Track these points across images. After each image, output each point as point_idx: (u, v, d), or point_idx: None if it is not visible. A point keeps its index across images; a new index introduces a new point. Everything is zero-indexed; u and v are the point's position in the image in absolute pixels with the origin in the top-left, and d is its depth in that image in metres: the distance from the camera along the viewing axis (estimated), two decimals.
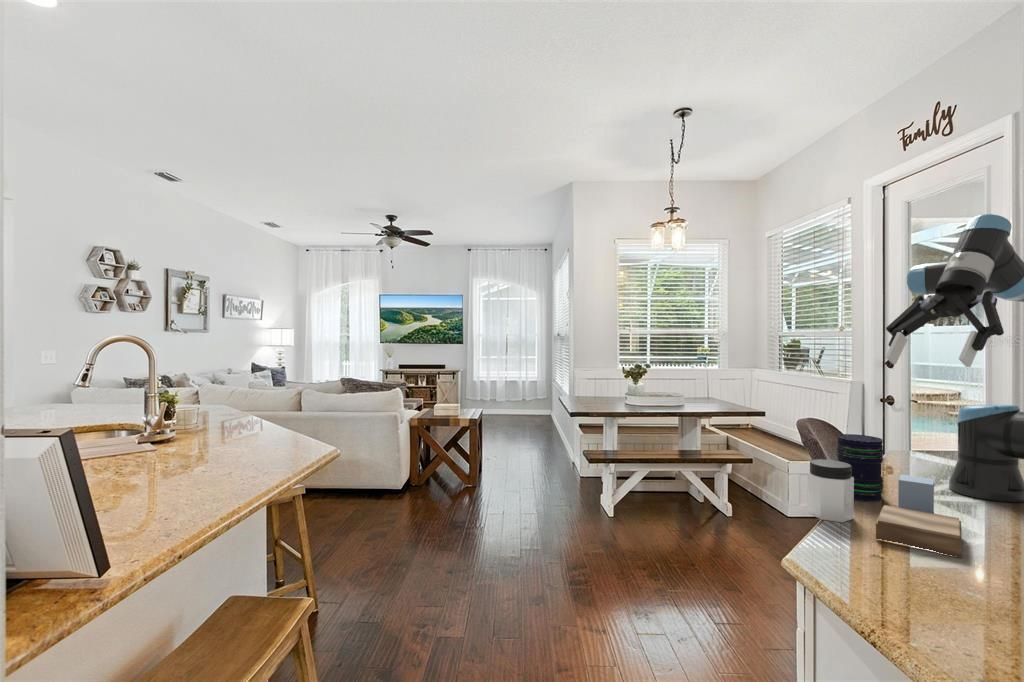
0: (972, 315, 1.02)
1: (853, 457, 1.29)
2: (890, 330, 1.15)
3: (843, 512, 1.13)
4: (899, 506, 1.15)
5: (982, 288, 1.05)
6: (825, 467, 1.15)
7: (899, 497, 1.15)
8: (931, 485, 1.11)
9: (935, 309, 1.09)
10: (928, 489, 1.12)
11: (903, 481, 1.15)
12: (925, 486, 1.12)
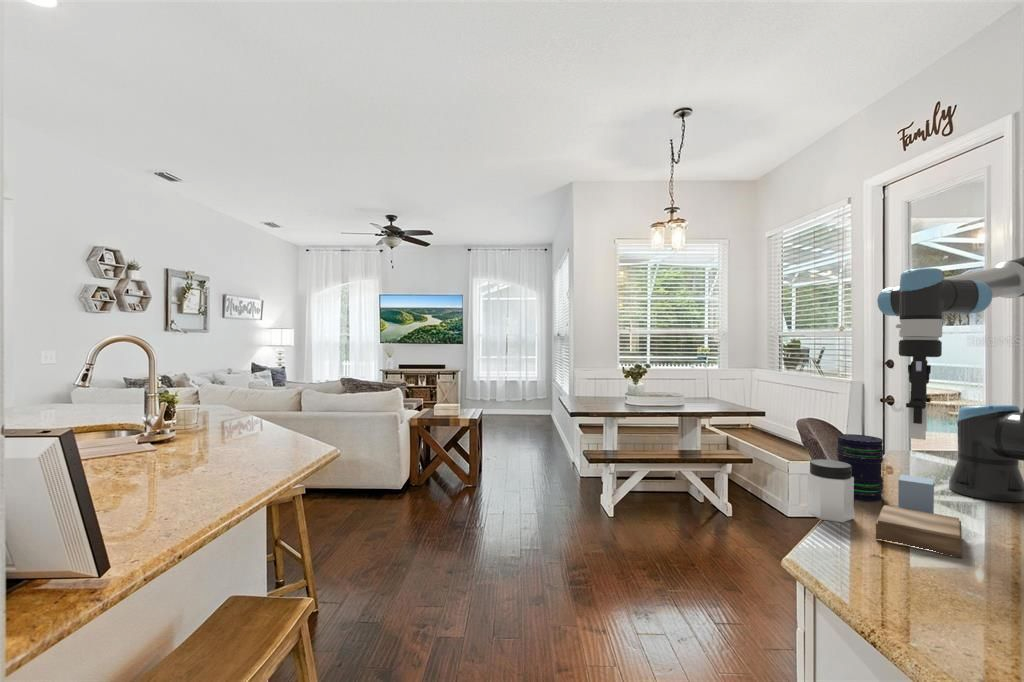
0: None
1: (853, 457, 1.29)
2: None
3: (843, 512, 1.13)
4: (899, 506, 1.15)
5: (923, 350, 1.12)
6: (825, 467, 1.15)
7: (899, 497, 1.15)
8: (931, 485, 1.11)
9: None
10: (928, 489, 1.12)
11: (903, 481, 1.15)
12: (925, 486, 1.12)
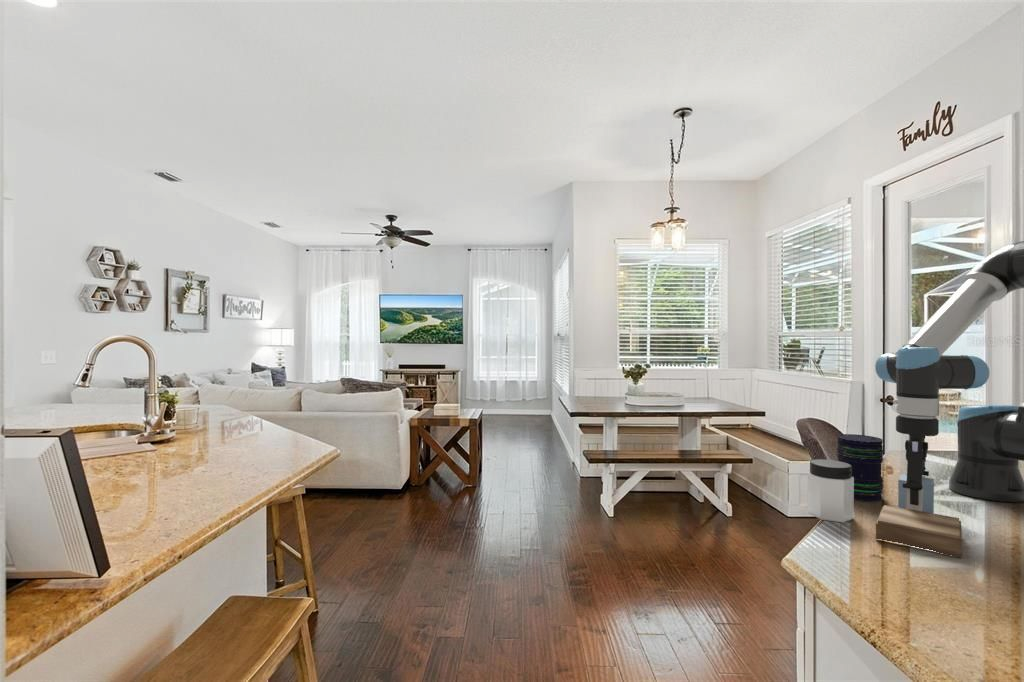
0: None
1: (853, 457, 1.29)
2: None
3: (843, 512, 1.13)
4: (899, 506, 1.15)
5: (920, 429, 1.12)
6: (825, 467, 1.15)
7: (899, 497, 1.15)
8: (931, 485, 1.11)
9: None
10: (928, 489, 1.12)
11: (903, 481, 1.15)
12: (925, 486, 1.12)
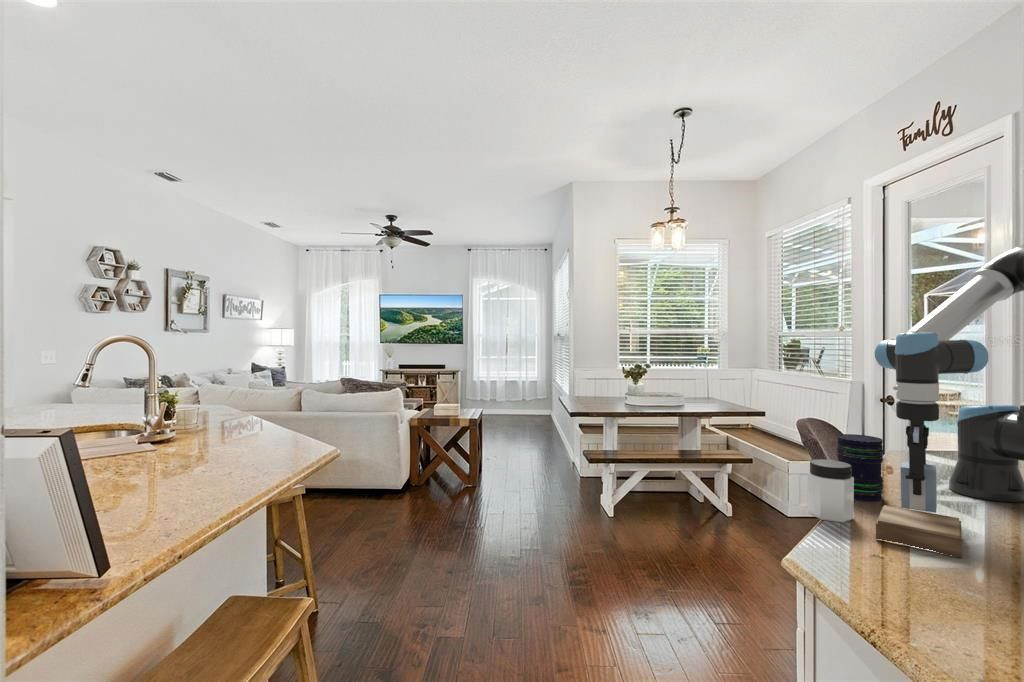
0: None
1: (853, 457, 1.29)
2: None
3: (843, 512, 1.13)
4: (902, 493, 1.15)
5: (921, 414, 1.12)
6: (825, 467, 1.15)
7: (901, 484, 1.15)
8: (933, 471, 1.11)
9: None
10: (930, 476, 1.12)
11: (905, 468, 1.15)
12: (927, 473, 1.12)
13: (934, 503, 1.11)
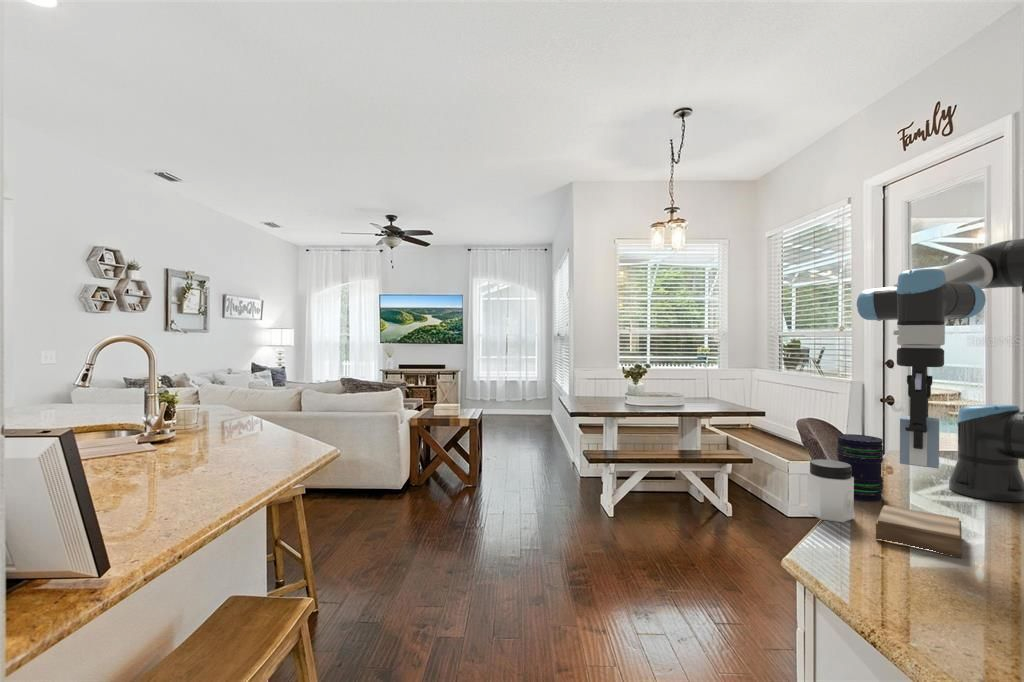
0: None
1: (853, 457, 1.29)
2: None
3: (843, 512, 1.13)
4: (901, 448, 1.04)
5: (924, 359, 1.01)
6: (825, 467, 1.15)
7: (900, 438, 1.04)
8: (936, 422, 1.00)
9: None
10: (933, 427, 1.00)
11: (905, 420, 1.03)
12: (929, 424, 1.01)
13: (936, 458, 1.00)
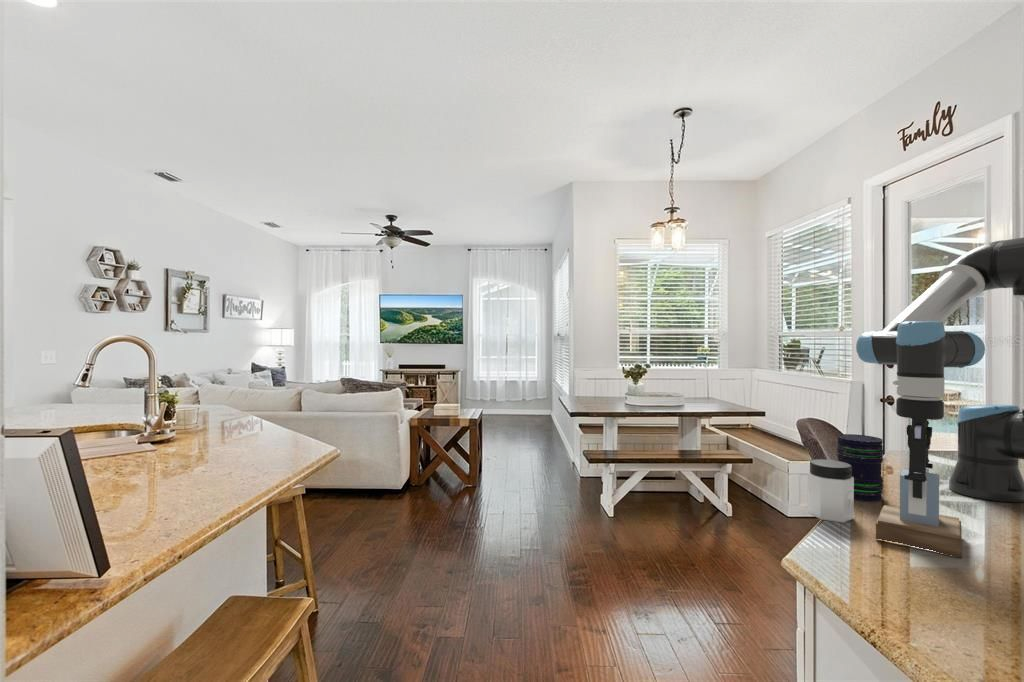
0: None
1: (853, 457, 1.29)
2: None
3: (843, 512, 1.13)
4: (901, 504, 1.04)
5: (923, 412, 1.01)
6: (825, 467, 1.15)
7: (901, 494, 1.04)
8: (936, 481, 1.00)
9: None
10: (933, 486, 1.00)
11: None
12: (930, 483, 1.01)
13: (936, 516, 1.00)
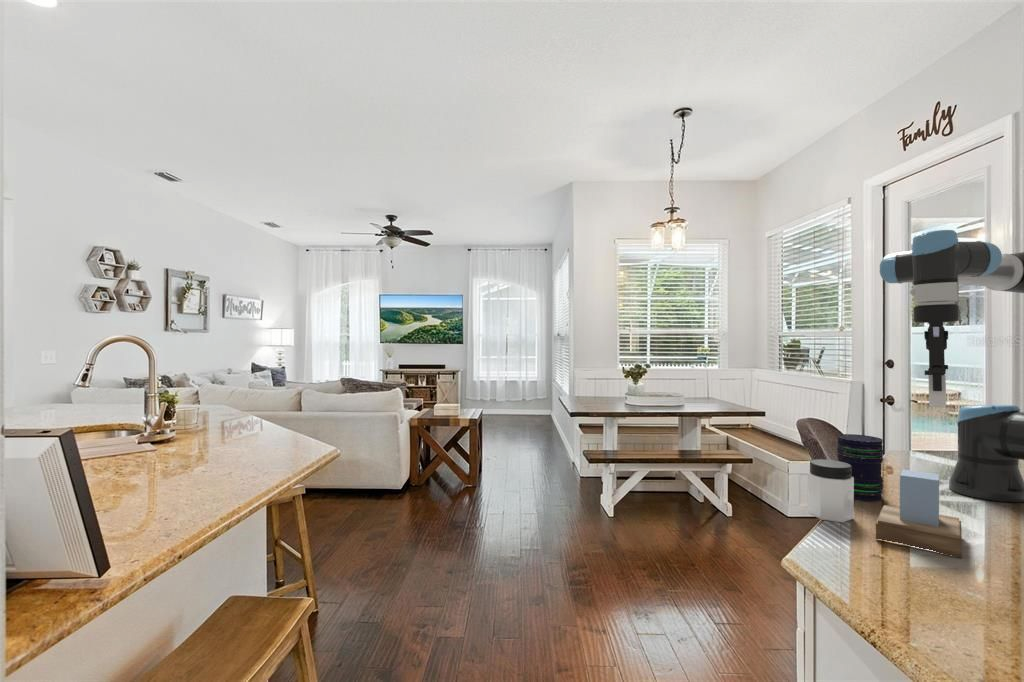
0: None
1: (853, 457, 1.29)
2: None
3: (843, 512, 1.13)
4: (901, 504, 1.04)
5: (940, 314, 1.08)
6: (825, 467, 1.15)
7: (901, 494, 1.04)
8: (936, 481, 1.00)
9: None
10: (933, 486, 1.00)
11: (905, 477, 1.03)
12: (930, 483, 1.01)
13: (936, 516, 1.00)
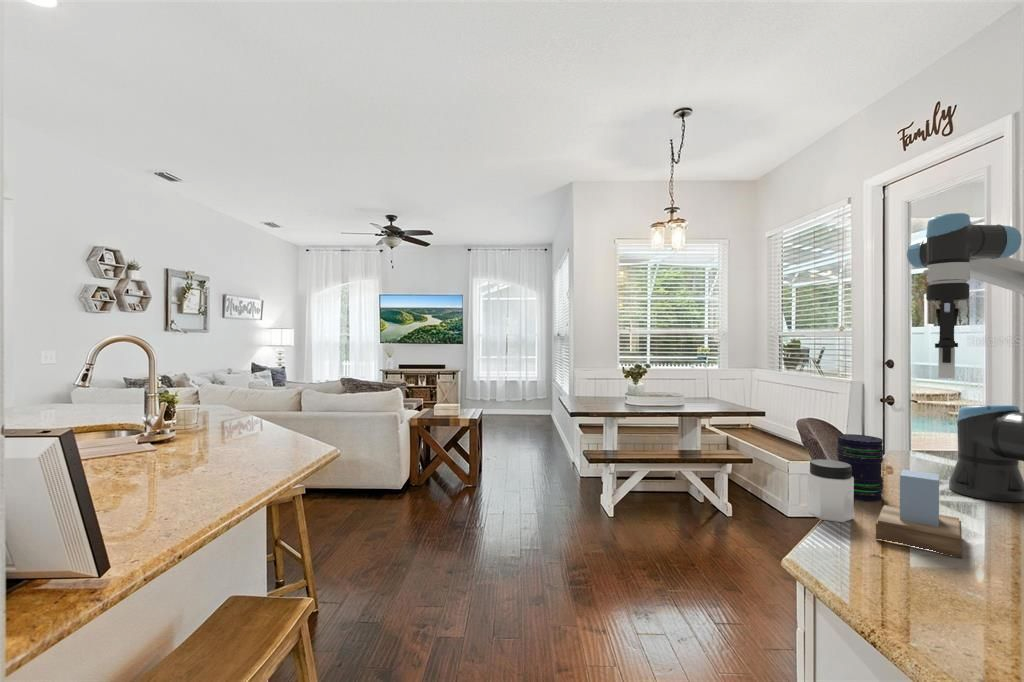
0: None
1: (853, 457, 1.29)
2: None
3: (843, 512, 1.13)
4: (901, 504, 1.04)
5: (951, 292, 1.15)
6: (825, 467, 1.15)
7: (901, 494, 1.04)
8: (936, 481, 1.00)
9: None
10: (933, 486, 1.00)
11: (905, 477, 1.03)
12: (930, 483, 1.01)
13: (936, 516, 1.00)
